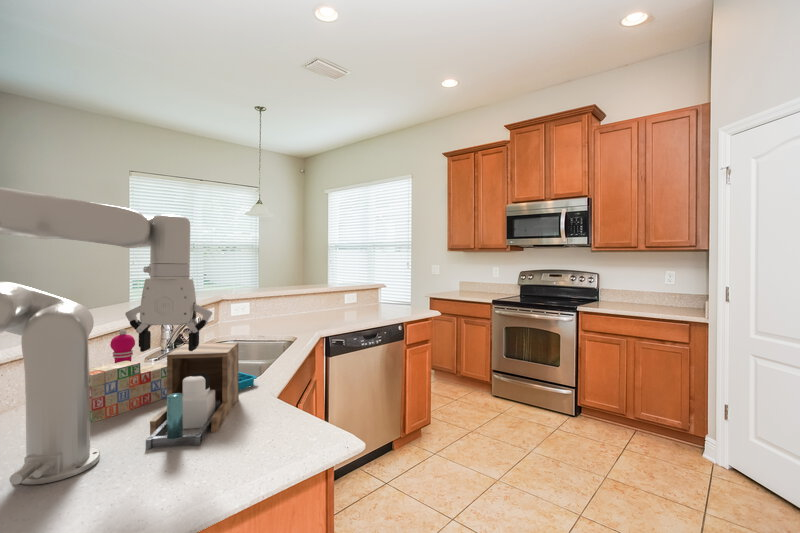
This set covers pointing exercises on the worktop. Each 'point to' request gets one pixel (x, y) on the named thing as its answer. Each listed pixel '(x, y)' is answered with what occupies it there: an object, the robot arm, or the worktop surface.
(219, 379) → the shelf lane
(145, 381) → the stack of blocks
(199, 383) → the medicine bottle
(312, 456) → the worktop surface
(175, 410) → the frame
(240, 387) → the ice cube tray
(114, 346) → the pepper mill
